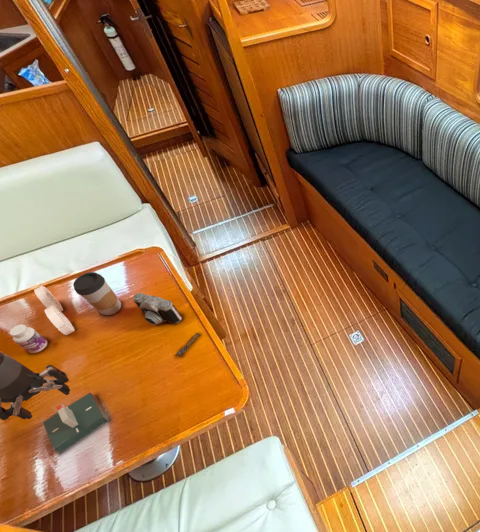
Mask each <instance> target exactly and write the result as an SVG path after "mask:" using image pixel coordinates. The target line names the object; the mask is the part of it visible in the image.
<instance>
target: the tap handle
mask: <svg viewBox="0 0 480 532" xmlns="http://www.w3.org/2000/svg"><path fill="white" fill-rule="evenodd" d="M67 407H68V406H65V405H64V404H63V403H61V404H59V405H58V406H55V409H56V411H57V413H59V416H60V418H61V420H62V422H63V423H65V424H67V425H68V426H70V427H72V428H74V427H75V426H77V425H78V423H77V421H76V418H75V416H74V414H73V412H72V410H70V409H69V408H67Z"/></svg>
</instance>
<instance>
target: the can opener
mask: <svg viewBox="0 0 480 532" xmlns="http://www.w3.org/2000/svg"><path fill="white" fill-rule="evenodd" d="M199 335H200V334H199V333H198V332H196V333H195V334H194V335H193V336H192V337H191V339H190V340H189V341H188V342H187V343H186V344H185V346H184V347H182V348H180V349H179V350H178V351H177V353H176V356H180V357H181V356H182V355H183V353H186V352H187V350H188V348H189V347H190V346H191V345H192V344H193V342H195V341H196V340H197V338H198V337H199Z"/></svg>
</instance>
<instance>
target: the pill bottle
mask: <svg viewBox="0 0 480 532" xmlns="http://www.w3.org/2000/svg"><path fill="white" fill-rule="evenodd" d="M9 335H10V336H11V337H12V339H13V341H14V342H15V343H16V344H18V345H19V346H20V347H21V348H23V349H24V350H26V352H28V353H31V354H35V353H36V354H37V353H39V352H42V350H44V349H45V348H46V347H47V346H48V340H47V339H46V338H45V337H44V336H43V335H42V334H40V333H39V332H38V331H37V330H36V329H35V328H33V327H29V326H26V325H25V324H23V323H21V324H17V325H15V326H13V327H11V329H10V330H9Z"/></svg>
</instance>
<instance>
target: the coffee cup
mask: <svg viewBox="0 0 480 532" xmlns="http://www.w3.org/2000/svg"><path fill="white" fill-rule="evenodd" d="M72 287H73V290H74V292H76V294H77V295H79V296H81V297H82V298H83V299H84V300H85V301H86V302H87V303H88V304H89V305H91V306H92V307H93V308H94V309H95V310H97V311H98V312H99V313H100V314H102V315H104V316H112V315H114V314H117V312H119V311H120V310H121V306H122V302H121V301H120V299H119V298H118V296H117V294H115V292H114V291H113V289H112V287H110V285H109V284H108V283H107V281H106V279H105V278H104V276H102V274H100V273H97V272H94V271H90V272H85V273H82V274H81V275H80V276H78V277H77V278H76V279H75V280H74V281H73V286H72Z"/></svg>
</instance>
